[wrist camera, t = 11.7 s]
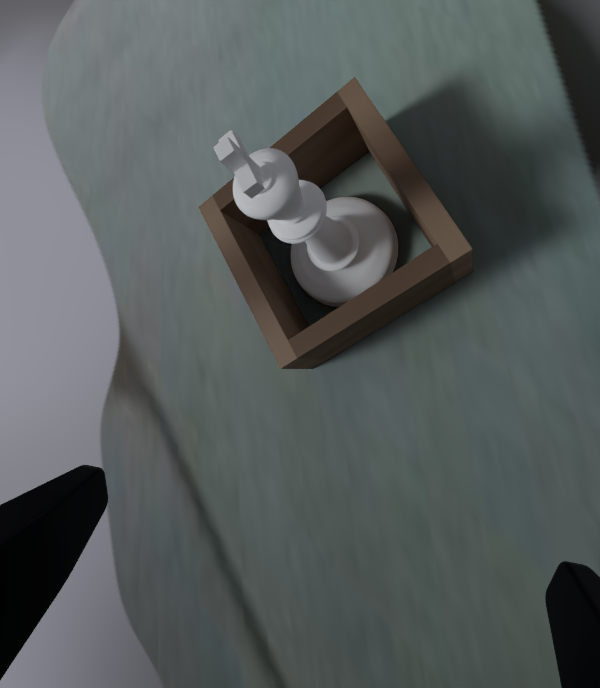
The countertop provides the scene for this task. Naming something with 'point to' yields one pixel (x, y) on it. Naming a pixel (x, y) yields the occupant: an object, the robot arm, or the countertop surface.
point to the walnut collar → (319, 168)
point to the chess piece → (312, 224)
